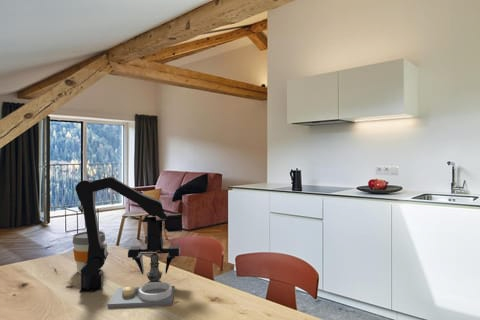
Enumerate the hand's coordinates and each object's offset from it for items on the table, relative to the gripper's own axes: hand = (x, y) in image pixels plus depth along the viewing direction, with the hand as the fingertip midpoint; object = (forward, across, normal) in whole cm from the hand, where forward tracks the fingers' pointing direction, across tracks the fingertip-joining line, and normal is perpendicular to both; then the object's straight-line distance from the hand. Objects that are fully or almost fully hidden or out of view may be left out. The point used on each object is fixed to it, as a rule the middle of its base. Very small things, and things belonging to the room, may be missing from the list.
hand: (154, 273), depth 128 cm
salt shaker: (+4, 0, 0) cm, 4 cm away
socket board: (+4, +2, +13) cm, 14 cm away
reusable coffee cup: (+4, +29, -17) cm, 34 cm away
